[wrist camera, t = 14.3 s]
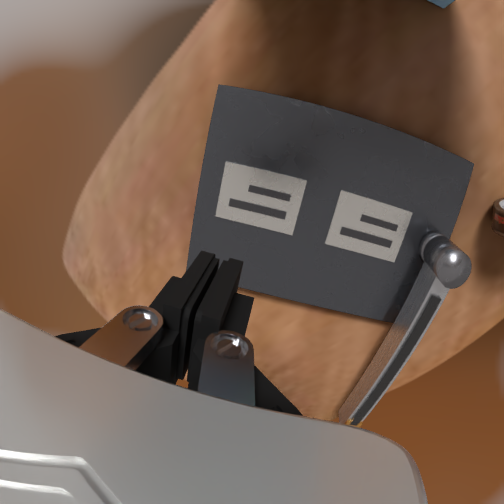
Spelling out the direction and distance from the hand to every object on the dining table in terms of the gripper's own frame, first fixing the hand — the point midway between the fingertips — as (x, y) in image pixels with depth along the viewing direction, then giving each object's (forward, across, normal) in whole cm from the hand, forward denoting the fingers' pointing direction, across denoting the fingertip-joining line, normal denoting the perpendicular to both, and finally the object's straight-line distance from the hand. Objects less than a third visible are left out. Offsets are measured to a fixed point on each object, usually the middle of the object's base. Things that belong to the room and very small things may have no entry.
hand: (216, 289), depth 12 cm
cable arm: (+15, -17, +10) cm, 25 cm away
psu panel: (+17, -6, 0) cm, 18 cm away
